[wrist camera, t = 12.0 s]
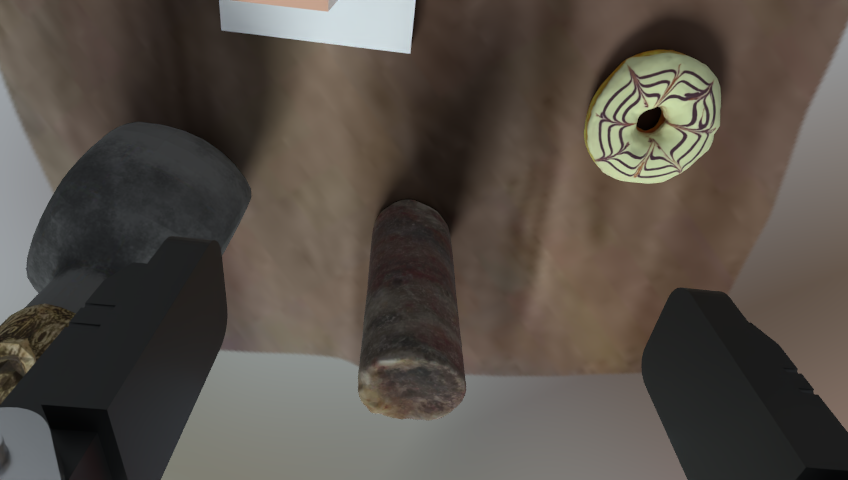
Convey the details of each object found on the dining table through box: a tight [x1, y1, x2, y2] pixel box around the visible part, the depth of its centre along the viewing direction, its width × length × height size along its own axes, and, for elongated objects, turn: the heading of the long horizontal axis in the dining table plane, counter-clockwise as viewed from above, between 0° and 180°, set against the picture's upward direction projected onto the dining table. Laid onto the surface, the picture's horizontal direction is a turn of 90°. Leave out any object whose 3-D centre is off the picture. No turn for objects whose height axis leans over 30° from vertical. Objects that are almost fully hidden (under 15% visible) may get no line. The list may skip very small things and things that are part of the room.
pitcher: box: [0, 122, 251, 404], centre depth 36 cm, size 11×19×30 cm, turn 145°
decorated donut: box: [584, 49, 721, 183], centre depth 44 cm, size 10×11×4 cm
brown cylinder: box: [358, 199, 466, 420], centre depth 43 cm, size 8×7×20 cm
